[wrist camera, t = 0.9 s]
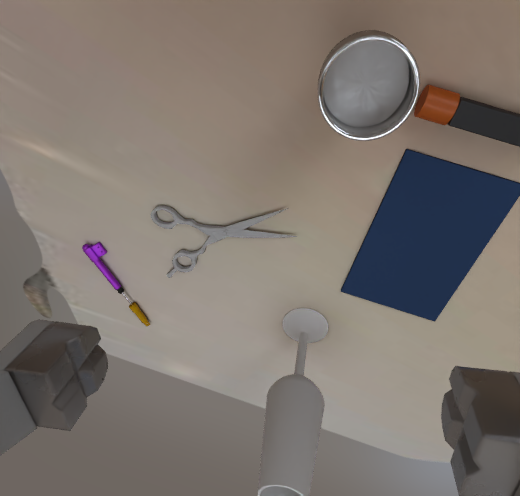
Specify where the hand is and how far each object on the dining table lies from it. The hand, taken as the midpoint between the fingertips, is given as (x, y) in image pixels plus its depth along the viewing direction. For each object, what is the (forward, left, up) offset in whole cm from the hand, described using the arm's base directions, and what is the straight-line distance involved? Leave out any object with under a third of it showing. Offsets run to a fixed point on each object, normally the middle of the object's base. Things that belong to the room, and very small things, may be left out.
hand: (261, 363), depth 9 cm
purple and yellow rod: (+33, -21, -37) cm, 54 cm away
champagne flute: (+30, +7, -37) cm, 48 cm away
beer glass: (-4, +2, -37) cm, 37 cm away
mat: (+12, +16, -37) cm, 42 cm away
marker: (-3, +16, -37) cm, 40 cm away
